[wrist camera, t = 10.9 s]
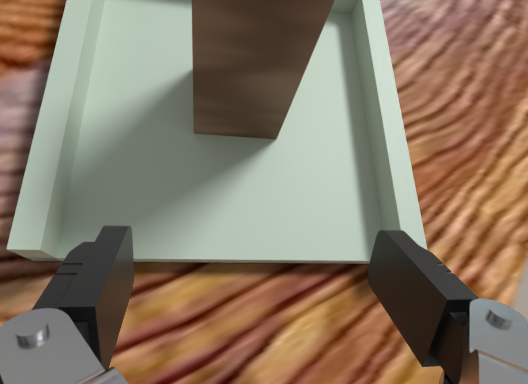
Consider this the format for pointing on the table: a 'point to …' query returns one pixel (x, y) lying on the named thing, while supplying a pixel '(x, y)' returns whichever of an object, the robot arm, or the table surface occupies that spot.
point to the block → (250, 62)
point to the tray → (213, 148)
